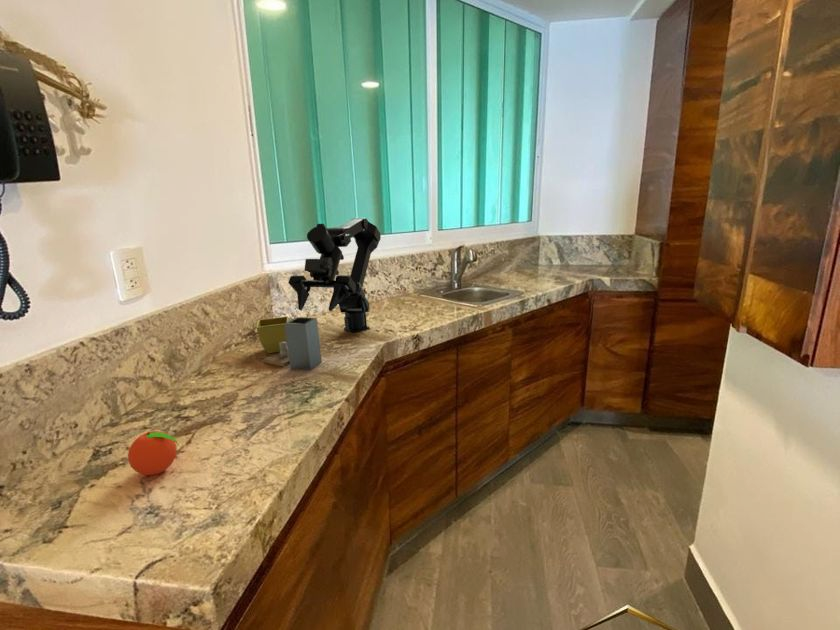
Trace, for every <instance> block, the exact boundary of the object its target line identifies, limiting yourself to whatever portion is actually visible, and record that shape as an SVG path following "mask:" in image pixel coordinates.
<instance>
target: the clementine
mask: <svg viewBox="0 0 840 630" xmlns="http://www.w3.org/2000/svg"><path fill="white" fill-rule="evenodd" d="M177 445H179V443H178V441H177V440H176V439H175V438H174V437H173V436H171V435H169V434H168V433H166V432H162V431H158V430H152V431H147V432H145V433H142V434H141V435H139V436H138V437H137V438H136V439H135V440H133V442H132V444H131V445H130V447H129V449H128V453H127V460H128V464H129V466H130V467H131V469H133V471H135V472H137V473H138V474H139V475H140V474H141V475H144V476H153V475H158V474H160V473H162V472H164V471H166V470H167V469H169V467H170V466H171V465H172V464H173V462H174V461H175V459H176V456H177V453H178V452H177V449H178V448H177Z"/></svg>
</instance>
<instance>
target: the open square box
mask: <svg viewBox="0 0 840 630" xmlns="http://www.w3.org/2000/svg"><path fill="white" fill-rule="evenodd" d="M284 325H285V332H286V340H287V349H288V355H289V362H290V364H289V368H290V370H295V371H296V370H297V371H298V370H299V371H312V370H313V369H315V368H316V367H318V366H319V365H320V364H321V363H323V360H322V352H321V344H320V336H319V326H318V318H317V317H300V316H299V317H297V316H296V317H295V318H292V319H290V320H289V321H288V322H286V323H284Z"/></svg>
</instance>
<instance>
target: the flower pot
mask: <svg viewBox="0 0 840 630" xmlns="http://www.w3.org/2000/svg"><path fill="white" fill-rule="evenodd" d="M288 321H290V320H289V316H279V317H272V318H264V319H258V320H257V323H256V327H255V328H256V332H257V334H258V338H259V342H260V344H261V346H262V348H263V350H265V351H266V352H267V353H268V354H272V353H279V352H280V346H279V343H280V342H287V340H286V332H285V325H284V323H286V322H288Z"/></svg>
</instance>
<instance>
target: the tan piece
mask: <svg viewBox="0 0 840 630" xmlns="http://www.w3.org/2000/svg"><path fill="white" fill-rule="evenodd" d="M279 346H280V352H276V353H275V354H272V355H270V356H268V357H265V358H263V363H265V364H270V365H275V366H279V367H283V368H284V367H286V366H290V362H289V355H288V347H287V342H280V343H279Z"/></svg>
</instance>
